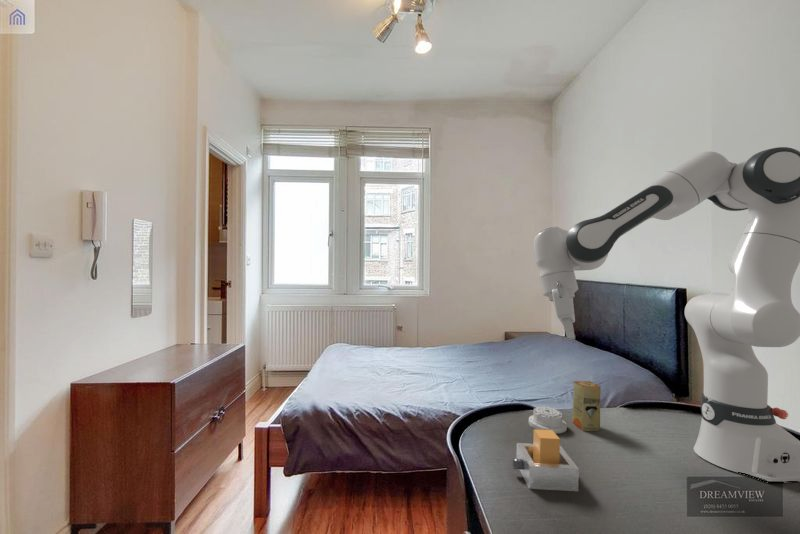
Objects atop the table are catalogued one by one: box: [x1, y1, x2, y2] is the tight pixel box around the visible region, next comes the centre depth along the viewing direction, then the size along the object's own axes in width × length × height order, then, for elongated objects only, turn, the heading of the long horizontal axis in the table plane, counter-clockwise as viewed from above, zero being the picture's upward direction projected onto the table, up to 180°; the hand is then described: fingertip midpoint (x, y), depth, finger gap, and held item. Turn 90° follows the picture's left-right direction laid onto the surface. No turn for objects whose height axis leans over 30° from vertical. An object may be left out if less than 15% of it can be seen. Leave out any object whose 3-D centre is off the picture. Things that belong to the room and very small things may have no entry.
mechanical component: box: [528, 406, 568, 435], centre depth 101 cm, size 10×4×10 cm
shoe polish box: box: [572, 380, 602, 432], centre depth 101 cm, size 5×5×12 cm
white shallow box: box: [511, 442, 580, 492], centre depth 77 cm, size 12×10×4 cm
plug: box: [532, 428, 561, 464], centre depth 77 cm, size 4×4×9 cm
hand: (571, 338), depth 93 cm, fingers open, 8 cm apart
